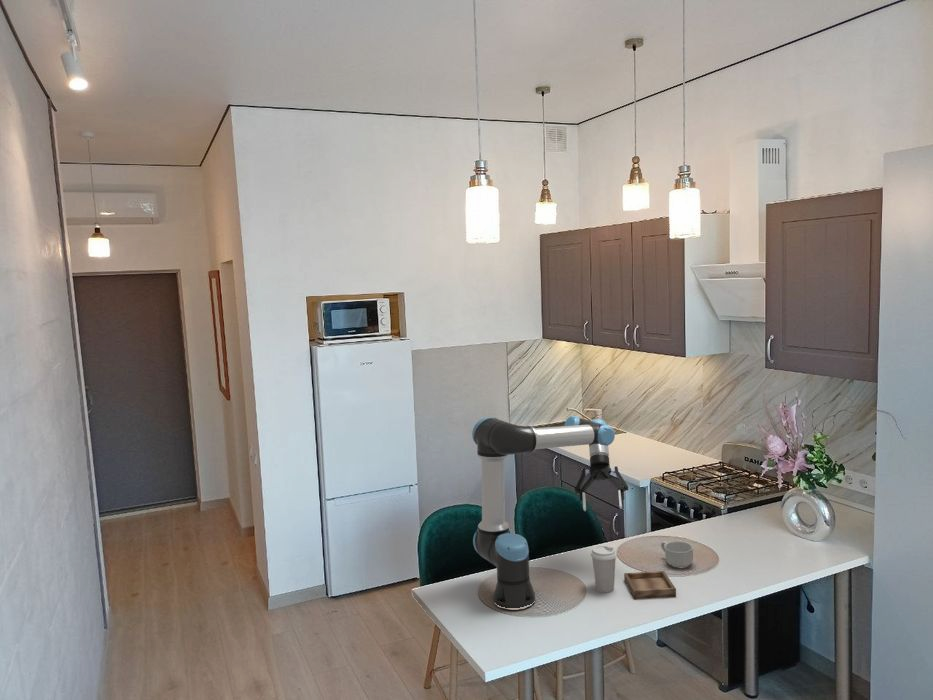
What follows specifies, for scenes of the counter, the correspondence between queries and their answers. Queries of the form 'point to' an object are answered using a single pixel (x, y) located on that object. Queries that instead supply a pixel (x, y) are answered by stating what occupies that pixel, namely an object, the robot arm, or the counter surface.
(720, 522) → the counter surface
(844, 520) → the counter surface
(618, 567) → the counter surface
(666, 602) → the counter surface
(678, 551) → the teacup
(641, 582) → the walnut tray
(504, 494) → the robot arm
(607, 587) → the coffee cup
